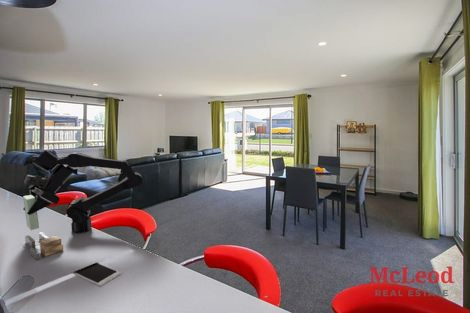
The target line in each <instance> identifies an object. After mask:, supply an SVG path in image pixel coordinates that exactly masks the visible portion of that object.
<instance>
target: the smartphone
mask: <svg viewBox="0 0 470 313" xmlns="http://www.w3.org/2000/svg"><path fill="white" fill-rule="evenodd" d="M71 274H73V275H75V276H77V277H79V278H82V279H83V280H85V281H87V282H90V283H92V284H93V285H96V286H98V287H102V286H104V285H105V284H107V283H109V282H111V281H112V280H114V279H116V276H117V277H118V275H119V276H121V274H122V272H121V271H118V270H116V269H113V267H109V266H107V265H103V264H101V263H99V262H94V263H90V264H89V265H87V266H85V267H81V268H79V269H78V270H75V271H72V272H71ZM113 278H114V279H113Z"/></svg>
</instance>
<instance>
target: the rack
mask: <svg viewBox="0 0 470 313" xmlns="http://www.w3.org/2000/svg"><path fill="white" fill-rule="evenodd" d="M38 235H39V238H38V239H34V238H33V237H31V235H30V234H25V236H24V239H25V240H24V241H25V242H24V243H22V244H20V245H21V246H22V247H23V248H24V249H25V250H26V251H27V252H28V253H29V255H30V256H32V257H33V259H34V260H36V261H39V260H43V259H44V258H48V257H51V256H54V255H57V254H59V253H63V252H64V249H63V250H62V251H59V252H56V253H53V254H50V255H47V256H45V255H44V254H43V253H41V251H40V240H43V239H46V238H49V236H47V235H46V233H44V232H43V231H42V232H39V233H38Z"/></svg>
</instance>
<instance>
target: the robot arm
mask: <svg viewBox="0 0 470 313" xmlns="http://www.w3.org/2000/svg"><path fill="white" fill-rule="evenodd" d="M32 164H33V165H35V166H36V167H38V168H40V169H41V170H43V171H45V172H49V171H50V172H52V173H51V174H50V175H46V176H44V177H43V176H41V175H38V174H37V175H31V174H26V175H25V179H24V181H23V183H24V184H25V185H27V186H28V189H29V190H28V191H29V195H32V196H34V197H35V199H36V201H35V202H34V204H33V205H32V207H31V208H30V209H29V211H28V213H27V214H29V215H31V214H33V213H35V212H37V213H38V212H39V211H40V210H42V209H45V208H47V207H49V206H51V205H53V204H55V205H57V204H58V203H59V202H60V201H61V200H60V196H58V195H57V192H58V190H59V189H60V188H63V187H65V185H64V184H65V183H66V181H67V180H68V179H69V178H70V177H71V176H72V175H74V176H78V175H79V173H78V168H86V167H87V168H88V167H94V168H105V169H116V170H121V172H122V173H123V174H124V175H125V177H124V178H123V179H122V180H121V181H119V182H117V183H116V184H113V185H112V186H110V187H107V188H105V189H104V190H102V191H100V192H97V193H95V194H93V195H92V196H89V197H86V198H85V197H84V195H82V196H80V197H79V198H77V199H72V201H71V203H70V204H69V205H68V207H67V209H66V212H65V213H66V216H67V217H68V218H69V219H71V221H72V222H71V224H70V225H71V232H72V233H75V234H84V233H89V231H91V230H92V217H91V216H89V215H90V214H91V208H93V207H94V206H97V205H99V204H101V203H102V202H104V201H106V200H108V199H110V198H112V197H114V196H116V195H118V194H120V193H121V192H124V191H128V190H132V189H136V188H138V187H140V186H141V185H142V183H143V180H144V179H143V177H142V175H141V174H140V173H139V172H136V171H135V170H134V169H133V168H132V166H131V165H130V164H129V163H128V161H126V160H123V159H121V160H120V159H110V158H103V157H95V156H91V155H87V154H86V153H81V152H78V151H76V152H75V151H74V152H72V153H69V154H68V155H67V156H64V157H63V156H62V157H58V156H56V155H55V154H53V153H52V152H50V150H47V149H46V150H44V151H43V152H42V153H41V154H40V155H39V156H37V157H36V158H35V159H34V160H33V161H32ZM64 165H65V166H64ZM75 168H76V169H75ZM53 170H54V171H53ZM23 211H25V207H23Z"/></svg>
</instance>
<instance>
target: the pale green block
mask: <svg viewBox="0 0 470 313" xmlns="http://www.w3.org/2000/svg"><path fill="white" fill-rule="evenodd" d="M22 199H23V206H24V207H25V210H24V213H25V220H26V226H27V228H28V229H29V230H30V231H33V230H37V229H40V222H39V215H38V211H37V212H35V213H33V214H31V215H29V214H27V213H28V211H29V209H30V208H31V207H32V205H33V204H34V202H35V201H36V199H35V197H34V196H32V195H30V194H29V195H27V194H26V195H24V196H22ZM24 207H23V208H24Z"/></svg>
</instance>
